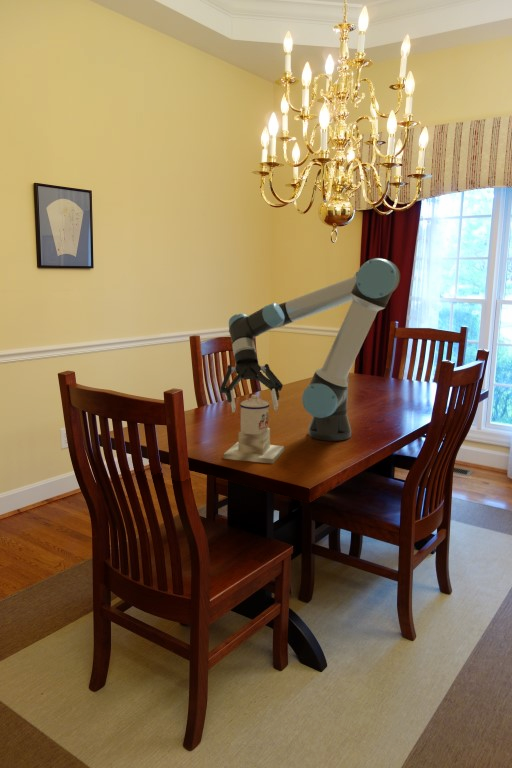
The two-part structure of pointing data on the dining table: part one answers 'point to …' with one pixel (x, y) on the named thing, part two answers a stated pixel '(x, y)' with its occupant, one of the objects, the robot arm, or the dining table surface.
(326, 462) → the dining table surface
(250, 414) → the teacup with lid
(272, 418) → the dining table surface
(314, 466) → the dining table surface
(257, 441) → the stone pedestal
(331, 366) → the robot arm
